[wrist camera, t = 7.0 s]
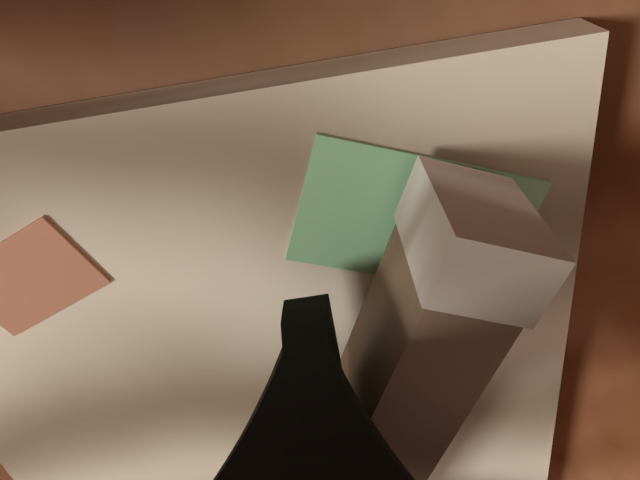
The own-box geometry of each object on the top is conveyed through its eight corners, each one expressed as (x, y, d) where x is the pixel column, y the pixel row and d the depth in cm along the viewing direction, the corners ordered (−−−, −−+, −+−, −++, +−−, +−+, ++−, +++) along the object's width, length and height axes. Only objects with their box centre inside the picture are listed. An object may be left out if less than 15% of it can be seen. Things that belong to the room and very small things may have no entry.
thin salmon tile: (43, 214, 11) (41, 217, 11) (111, 279, 12) (109, 282, 12) (-56, 277, 12) (-58, 279, 12) (15, 333, 13) (13, 336, 13)
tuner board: (525, 515, 20) (537, 547, 19) (117, 565, 21) (108, 599, 20) (579, 17, 11) (609, 31, 10) (-187, 145, 11) (-233, 169, 10)
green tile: (550, 181, 11) (551, 183, 11) (492, 292, 13) (493, 294, 13) (316, 132, 10) (316, 134, 10) (285, 257, 12) (285, 259, 12)
